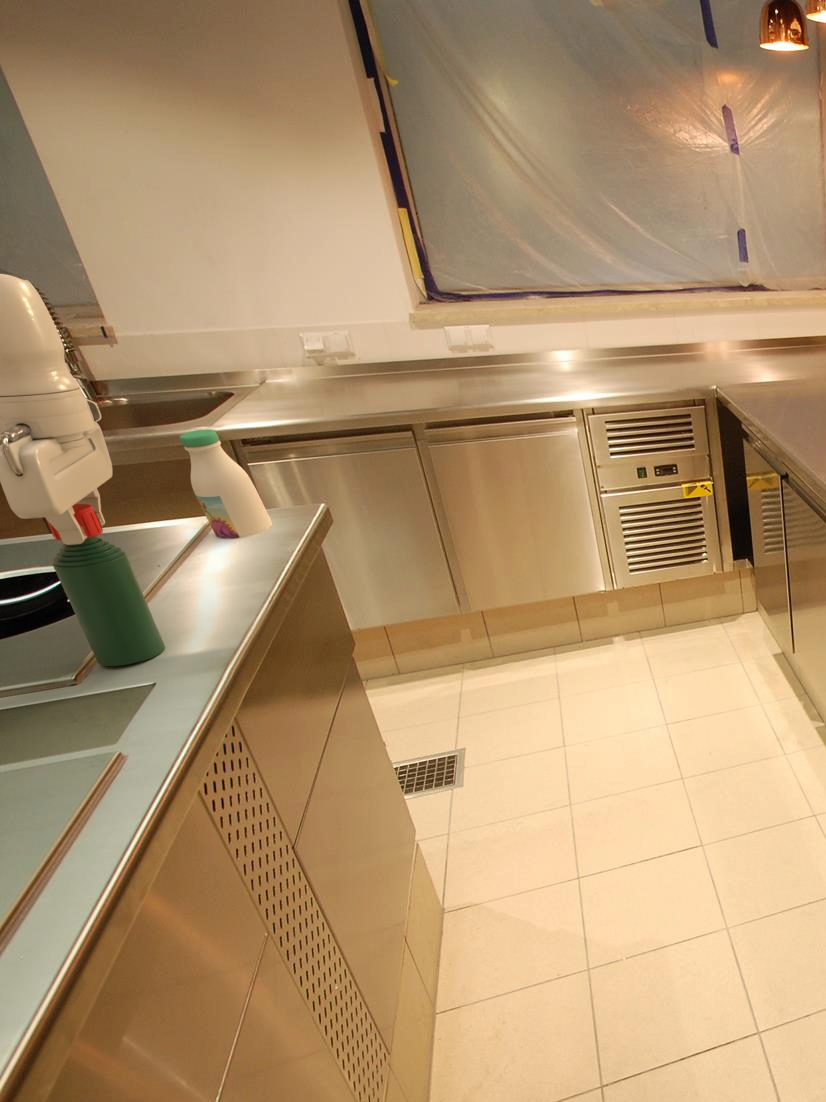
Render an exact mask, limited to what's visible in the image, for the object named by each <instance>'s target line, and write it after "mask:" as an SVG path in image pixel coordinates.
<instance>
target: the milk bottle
mask: <svg viewBox="0 0 826 1102" xmlns="http://www.w3.org/2000/svg"><path fill="white" fill-rule="evenodd" d="M179 440H180V442H181V444H182V446H183V447H184V450H185V451H187V452H188V454H189V457H190V484H191V487H192V490H193V493H194V495H195V497H196V500H197V502H198V503H199V505H200V507H201V509H202V512H203V514H204V515H205V518H206V519H207V521H208V524H209V526H210V527H211V529H212V531H213V533H214V535H215V537H216V538H218V539H220V540H221V539H222V540H234V539H241V538H247V537H250V536H254V535H257V534H261V533H262V532H265V531H267V530H269V529H270V528H271V527H272V526H273V522H272V519H271V517H270V516H269V514H268V511H267V509H266V507H265V504H264V503H263V500H262V499H261V497H260V494H259V493H258V490H257V489H256V487H255V485H254V483H253V481H252V479H251V477H250V476H249V474H248V473H247V472H246V470H244V468H242V467H241V465H239V464H238V463H237V462H236V461H235V460H234V459H233V458H231V456H229V455H228V454H227V453H226V452H225V450H224V449H223V448H222V446H221V444H222V442H221V441H220V438H219V435H218V433H217V431H216V430H214V429H198V430H197V429H196V430H191V431H187V432H184V433H183V434H181V435H179Z"/></svg>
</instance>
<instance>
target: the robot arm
mask: <svg viewBox="0 0 826 1102" xmlns="http://www.w3.org/2000/svg"><path fill="white" fill-rule="evenodd" d="M100 420H102V414H101V411H100V408H99V406H98V404H97V403H96V402H95V401H93V400H90V399H87V398H86V397H85V396H84V394H83V391H82V389H81V387H80V384H79V382H78V381H77V380H76V378H75V377H74V376H73V375H72V374H71V372H70V370H69V368H68V366H67V364H66V360H65V346H64V343H63V341H62V339H61V336H60V334H59V331H58V328H57V327H56V324H55V322H54V320H53V318H52V316H51V314H50V311H49V310H48V308H47V305H46V304H45V302H44V300H43V299H42V297H41V295H40V294H39V292H38V290H37V289H36V288H35V287H34V285H33V284H32V282H30V281H29V280H28V279H27V278H25V277H24V276H22V275H21V274H19V273H17V272H16V271H13V270H11V269H8V268H6V267H3V266H0V441H1V444H0V485H1V487H2V490H3V492H4V495H5V498H6V501H7V503H8V505H9V508H10V509H11V511H12V512H13V513H14V514H15V515H16V516H17V517H18V518H19V519H23V520H25V519H43V518H46V519H45V521H46V520H47V521H48V522H49V523H50V524H51V525H52V526H53V527H54V528H55V529H56V530H57V531H58V533H59V535H60V537H61V539H62V541H61V542H62V543H63V544H67V545H73V544H81V543H83V542H84V541H85V540H86V539H87V535H86V533H85V530H84V528H83V526H79V524H78V522H77V520H76V519H75V517H74V514H75V512H74V510H73V508H72V506H73V505H75V504H89V505H91V506H92V508H93V510H94V511H95V513H96V515H97V518H98V520H99V522H100V525H101V527H103V526H104V525H105V524H106V520H105V518H104V515H103V513H102V505H101V504H102V503H101V494H100V492H99V490H98V488H99V487H100V486H102V485H103V484H105V483H106V482H107V481H109V480H110V479H112V477H113V463H112V460H111V456H110V452H109V449H108V446H107V443H106V439H105V436H104V434H103V431H102V428H101V426H100V424H99V423H98V422H99V421H100ZM47 521H46V522H47Z"/></svg>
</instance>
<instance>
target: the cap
mask: <svg viewBox="0 0 826 1102" xmlns="http://www.w3.org/2000/svg"><path fill="white" fill-rule="evenodd" d="M72 508H73V510H74V512H75V514H74V517H75V519H76V520H77V522H78V524H79V526H83V528H84V530H85V533H86V535H87V538H90V537H94V536H97V537H98V536H100V535H101V534H103V531H104V529H103V526H101V525H100V522H99V520H98V518H97V515H96V513H95V511H94V510H93V508H92V506H91V505H89V504H75V505H73V506H72ZM44 518H45V517H44ZM45 521H46V523H47V525H48V528H49V530H50V532H51V534H52V536H53V538H54V539H55V540H56V541H61V542H62V539H61V537H60V535H59V533H58V531H57V530H56V529H55V528H54V527H53V526H52V525H51V524H50V523H49V522H48V521H47V520H46V518H45Z"/></svg>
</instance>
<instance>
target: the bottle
mask: <svg viewBox="0 0 826 1102" xmlns="http://www.w3.org/2000/svg"><path fill="white" fill-rule="evenodd" d="M55 556H56V557H54V558H53V560H52V562H53V563H52V566H53V569H54V572H56V576H57V578H58V581H60V584H61V587H62V589H63V591H64V593H65V595H66V597H67V599H68V601H69V604H70V605H71V607H72V610H73V612H74V614H75V616H76V618H77V621H78V623H79V625H80V628H81V629H82V632H83V633H84V635H85V638H86V640H87V642H88V644H89V646H90V647H89V648H90V649H91V651H92V653H93V656H94V658H95V660H96V661H97V663H98V665H101V666H104V667H105V666H106V667H119V666H126V665H131V664H136V663H141V662H143V661H147V660H150V659H153V658H155V657H156V656H159V655H161V654H162V653H163V652H164V651H165V650H166V645H165V643H164V641H163V639H162V636H161V633H160V632H159V629H158V627H157V624H156V622H155V619H154V617H153V614H152V612H151V610H150V608H149V605H148V603H147V600H146V598H145V596H144V594H143V591H142V589H141V587H140V584H139V582H138V579H137V577H136V574H135V572H134V569H133V568H132V565H131V562H130V560H129V558H128V555H127V553H126V551H123V549H122V548H121V547H117V546H116V545H115V544H112V543H110V542H109V541H105V540H104V539H102V538H100V537H99V538H98V535H97V536H94V537H90V538H87V539H86V540H85V541H84V542H83V543H81V544H73V545H67V544H64V543H63V544H62V548H60V549H59V550H58V552H57V553H56V555H55Z"/></svg>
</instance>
